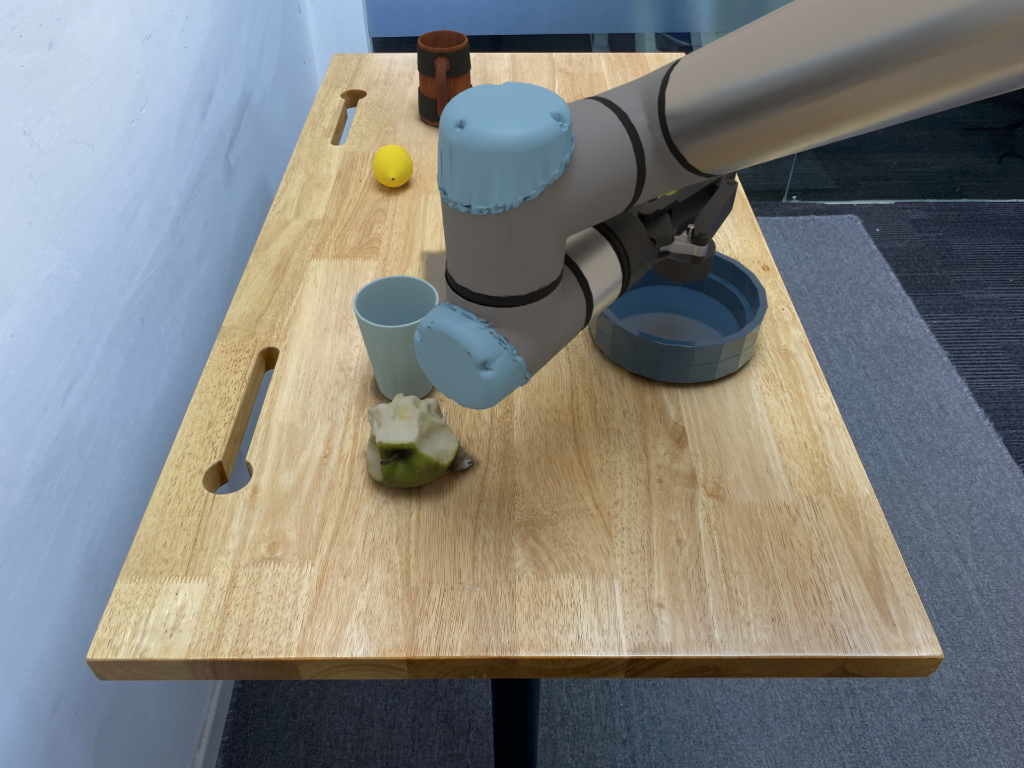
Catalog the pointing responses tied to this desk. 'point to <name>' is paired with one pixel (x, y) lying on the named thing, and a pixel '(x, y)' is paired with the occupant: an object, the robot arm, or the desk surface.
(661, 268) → the paper towel holder
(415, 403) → the fruit
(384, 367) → the cup
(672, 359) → the bowl
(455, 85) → the mug
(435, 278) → the platform
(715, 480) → the desk surface
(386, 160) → the lemon
